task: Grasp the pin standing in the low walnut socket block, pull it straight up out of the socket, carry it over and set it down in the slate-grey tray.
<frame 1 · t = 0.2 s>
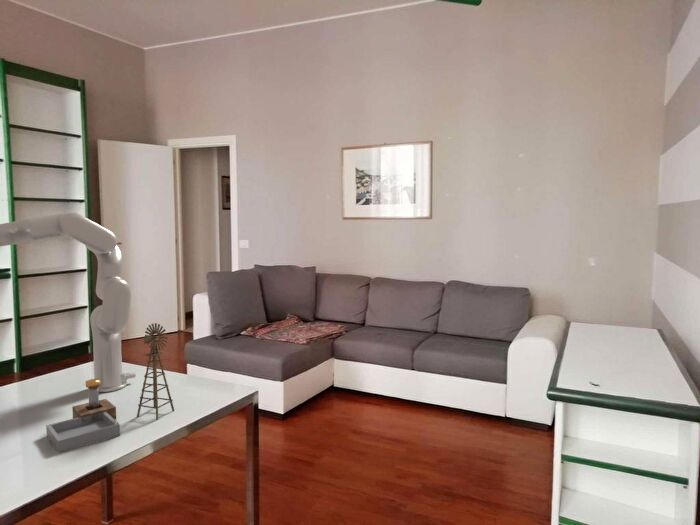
pin: (94, 419, 154), resting in socket block
tray: (83, 435, 142), on the table
miniature windmill: (155, 414, 158), on the table
socket block: (94, 418, 154), on the table
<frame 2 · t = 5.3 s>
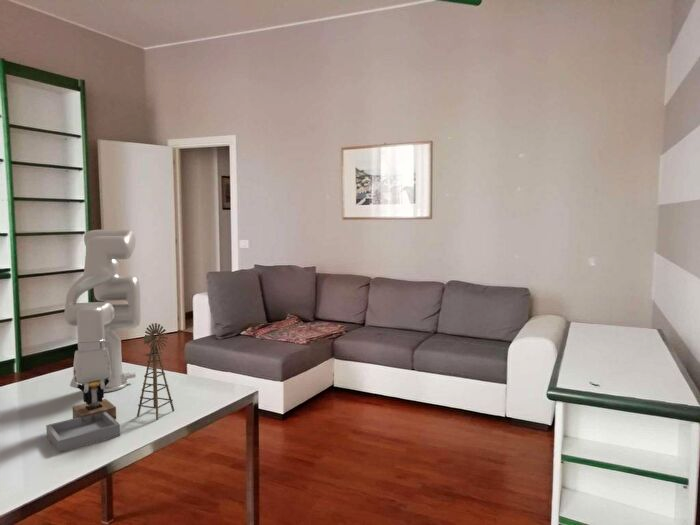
hand: (93, 401, 153), 6 cm above the table, tool pointing down, fingers closed on pin, 2 cm apart
pin: (94, 419, 154), resting in socket block, touching gripper
everything else where it was.
when the fingers open (7 cm above the table, at t = 12.0 s): pin stays where it is, resting on tray.
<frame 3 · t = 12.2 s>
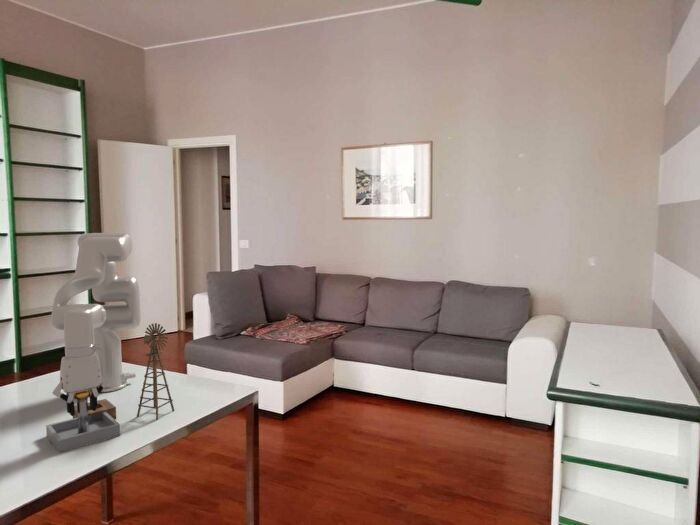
hand: (82, 411, 141), 7 cm above the table, tool pointing down, fingers open, 4 cm apart
pin: (83, 432, 142), point 1 cm above the table, touching tray
everything else where it was.
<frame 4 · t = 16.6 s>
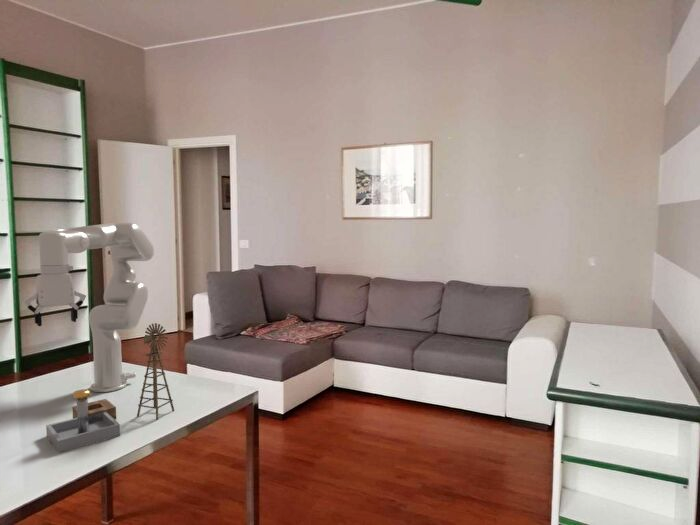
hand: (56, 323, 155), 30 cm above the table, tool pointing down, fingers open, 9 cm apart
nothing on the table moved.
at the end: pin inside the target area on the tray (0.1 cm from its centre), point 0.8 cm above the tray's base; the gripper is holding nothing; pin 0.1 cm from the tray (horizontally) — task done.
